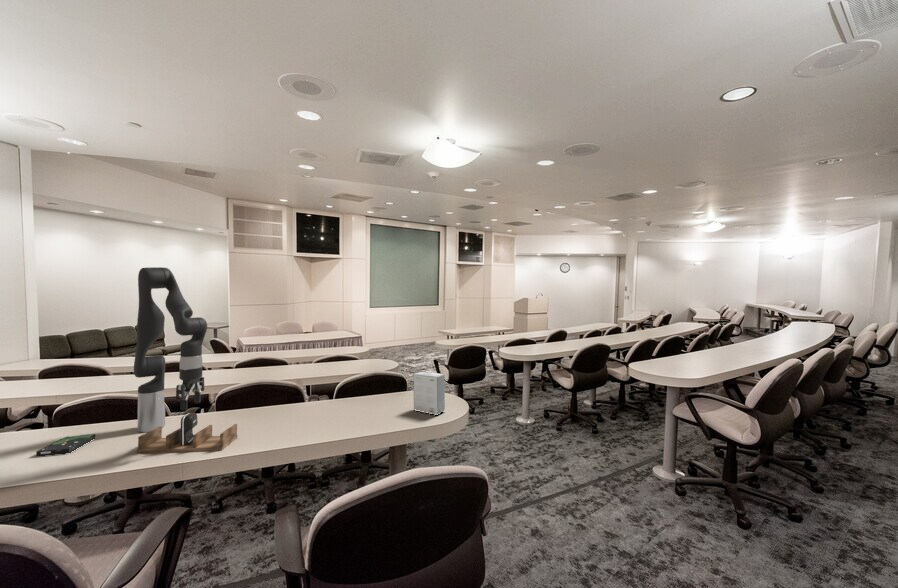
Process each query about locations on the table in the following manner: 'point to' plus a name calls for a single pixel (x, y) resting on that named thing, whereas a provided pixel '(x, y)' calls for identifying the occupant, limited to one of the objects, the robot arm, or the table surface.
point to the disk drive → (65, 445)
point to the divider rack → (172, 443)
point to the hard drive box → (429, 392)
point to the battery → (188, 428)
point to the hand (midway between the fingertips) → (190, 406)
